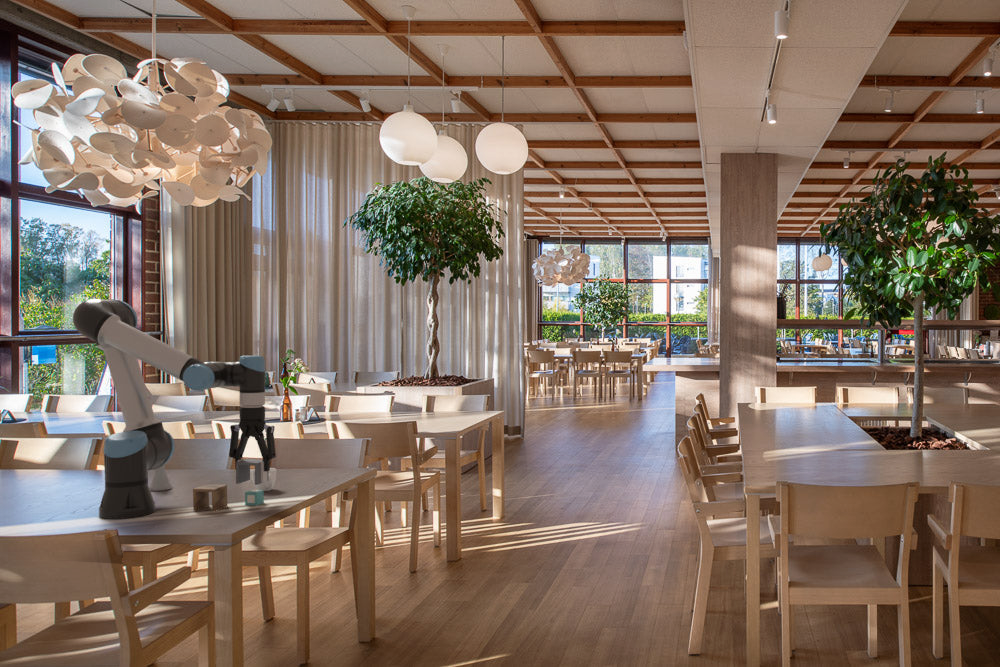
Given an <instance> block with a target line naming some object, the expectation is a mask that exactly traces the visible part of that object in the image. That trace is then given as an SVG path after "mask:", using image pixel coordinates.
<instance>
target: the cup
mask: <svg viewBox="0 0 1000 667" xmlns="http://www.w3.org/2000/svg"><path fill="white" fill-rule="evenodd" d="M251 478H252V479H251V480H252V482H253V486H254V487H255V489H256V490H264V492H268V491H271V490H272V489H273V487H274V485H275V484H276V479H277V468H275V467H270V470H269V471H268V481H266V482H264V483H261V484H258V485H255V468H254V469H252V470H251Z"/></svg>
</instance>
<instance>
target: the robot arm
mask: <svg viewBox="0 0 1000 667" xmlns="http://www.w3.org/2000/svg"><path fill="white" fill-rule="evenodd" d="M72 315H73V316H72V323H73V326H74V328H75V330H76V331H77V332H78V333H79V334H80V335H82V336H83V337H85V338H87V339H89V340H91V341H93V342H95V344H96V347H97V349H99V350H101V351H102V352H103V353H104V357H105V359H106V363H107V367H108V370H109V373H110V376H111V379H112V383H113V387H114V390H115V393H116V397H117V400H118V403H119V408H120V410H121V413H122V417H123V421H124V423H125V427H124V429H123V431H121V432H116V433H113V434H110V435H108V436H107V437H106V438H105V439H104V443H103V444H104V445H103V450H102V452H103V463H104V491H103V494H102V498H101V501H100V504H99V507H98V517H99V518H102V519H110V520H113V519H116V520H117V519H130V518H138V517H142V516H147V515H150V514H152V513H154V512H155V511H156V502H155V501H154V499H153V498H154V497H153V494H152V492H151V491H152V490H150V489H149V488H150V485H149V471H151V470H155V469H156V468H159V467H161V466H162V465H164V464H165V465H166V464H167V463H168V462H169V461H170V460H171V459H172V457H173V456H174V453H175V448H176V445H175V440H174V437H173V436H172V435H171V433H170V432H168V431H167V430H165V429H164V425H163V422H162V420H160V419H158V418H156V417H155V413H154V410H153V406H152V403H151V400H150V397H149V393H148V390H147V387H146V383H145V379H144V376H143V372H142V370H141V365H140V362H139V361H141V362H144V363H146V364H148V365H150V366H151V367H153V368H156V369H157V370H160V371H161V372H163V373H165V374H167V375H169V376H171V377H173V378H175V379H177V380H180V381H181V382H183V383H184V385H185V386H186V388H188V389H189V390H191V391H196V392H197V391H198V392H202V391H205V390H206V391H207V390H209V389H210V390H211V389H215V388H220V387H234V388H235V387H236V388H237V387H239V406H240V408H239V423H238V424H232V425H230V427H229V428H230V433H231V434H230V444H229V454H228V457H229V458H232V459H234V460H235V461H234V468H235V470H236V462H238V461H242V460H245V458H244V457H243V456H244V453H245V449H246V446H247V444H248V440H249V439H250V438H251V437H252V438H254V439H255V441H256V443H257V446H258V449H259V452H260V454H261V457H262V459H263V460H262V461H261V483H264V482H266V481H267V471H269V470H270V468H271V460H272V459H275V458H276V457H277V454H276V452H277V451H276V446H275V445H276V444H275V436H274V433H275V426H274V425H268V424H266V407H265V405H266V372H267V371H266V363H265V358H264V356H262V355H252V354H251V355H241V356H240V357H239V360H238V361H216V360H215V361H214V360H213V361H204V362H203V361H201V360H199V359H197V358H195V357H194V356H192V355H190V354H187V353H186V352H184V351H181V350H180V349H178V348H175V347H174V346H172V345H169V344H168V343H166V342H165V341H161V340H159V339H157V338H155V337H154V336H152V335H150V334H147V333H145V332H144V331H142V330H140V329H137V328H136V327H137V326H138V321H139V320H138V315H137V312H136V310H135V309H134V308H133V307H132V305H130V304H129V303H128V302H125V301H122V300H119V299H116V298H115V299H112V298H111V299H103V298H102V299H99V298H91V299H86V300H83V301H82V302H81V303H79V304H78V306H76V308H75V309H74V311H73V314H72ZM240 430H241V435H240ZM264 431H265V434H264ZM239 436H240V440H239ZM265 437H266V440H265Z"/></svg>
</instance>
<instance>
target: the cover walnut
mask: <svg viewBox="0 0 1000 667" xmlns="http://www.w3.org/2000/svg"><path fill="white" fill-rule="evenodd" d="M210 493H211V505H212V506H211V509H212V512H217V511H219V510H218V509H220V510H221V508H222V509H224V507H225V508H226V506H227V507H228V484H209V483H208V484H203V485H200V486H197V487H194V488H193V489H192V498H193V500H192V502H193V507H192V508H193V511H194V510H197V511H199V510H201V508H202V509H204V507H205V508H207V507H209V506H210ZM206 506H207V507H206ZM198 509H199V510H198ZM216 510H217V511H216Z"/></svg>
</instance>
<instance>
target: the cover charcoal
mask: <svg viewBox="0 0 1000 667" xmlns="http://www.w3.org/2000/svg"><path fill="white" fill-rule="evenodd" d="M262 460H263V458H262V459H261V458H259V459H258V458H256V459H255V458H246V459H245V458H244V460H242V461H238V462H236V469H235V484H237V485H239V484H242V483H246V482H247V481H250V480H251V466H252V467H253V466H254V469H255V485H258V484H261V461H262ZM267 481H268V471H267ZM255 485H254V486H255Z"/></svg>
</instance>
